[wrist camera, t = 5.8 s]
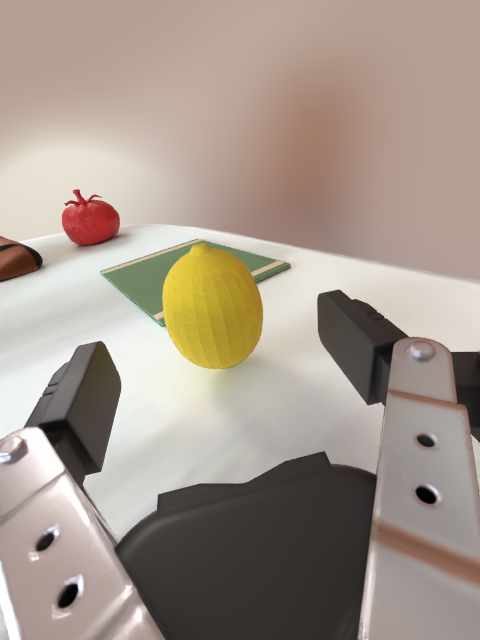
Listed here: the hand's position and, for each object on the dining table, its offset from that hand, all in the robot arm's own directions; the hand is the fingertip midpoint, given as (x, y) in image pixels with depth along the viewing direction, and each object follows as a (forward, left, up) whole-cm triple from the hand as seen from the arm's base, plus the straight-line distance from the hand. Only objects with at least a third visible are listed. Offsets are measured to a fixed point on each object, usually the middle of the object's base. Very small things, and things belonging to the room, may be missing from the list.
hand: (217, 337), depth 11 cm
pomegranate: (-23, +51, -6) cm, 56 cm away
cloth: (-4, +25, -6) cm, 26 cm away
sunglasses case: (-37, +42, -6) cm, 56 cm away
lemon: (0, +6, -6) cm, 8 cm away
